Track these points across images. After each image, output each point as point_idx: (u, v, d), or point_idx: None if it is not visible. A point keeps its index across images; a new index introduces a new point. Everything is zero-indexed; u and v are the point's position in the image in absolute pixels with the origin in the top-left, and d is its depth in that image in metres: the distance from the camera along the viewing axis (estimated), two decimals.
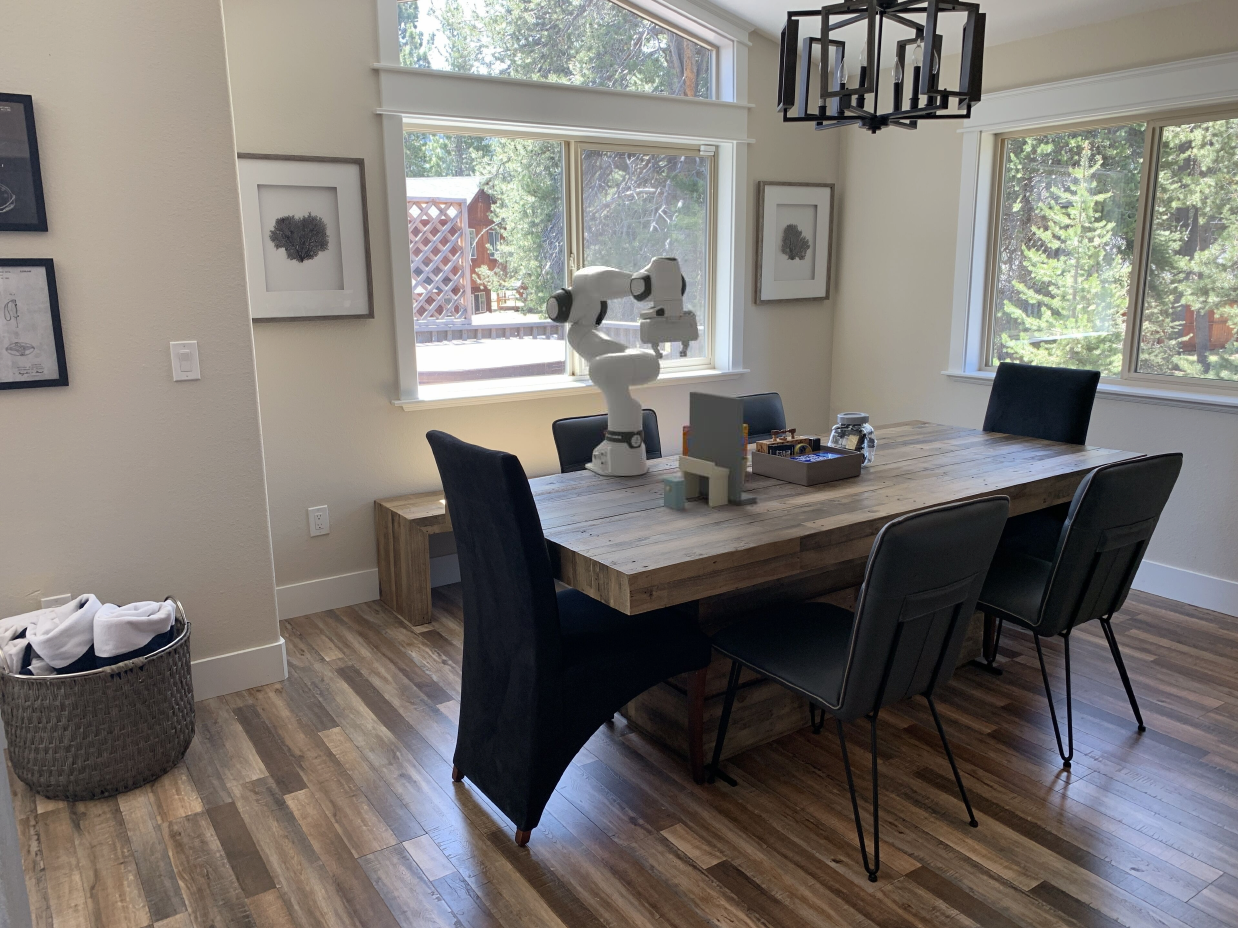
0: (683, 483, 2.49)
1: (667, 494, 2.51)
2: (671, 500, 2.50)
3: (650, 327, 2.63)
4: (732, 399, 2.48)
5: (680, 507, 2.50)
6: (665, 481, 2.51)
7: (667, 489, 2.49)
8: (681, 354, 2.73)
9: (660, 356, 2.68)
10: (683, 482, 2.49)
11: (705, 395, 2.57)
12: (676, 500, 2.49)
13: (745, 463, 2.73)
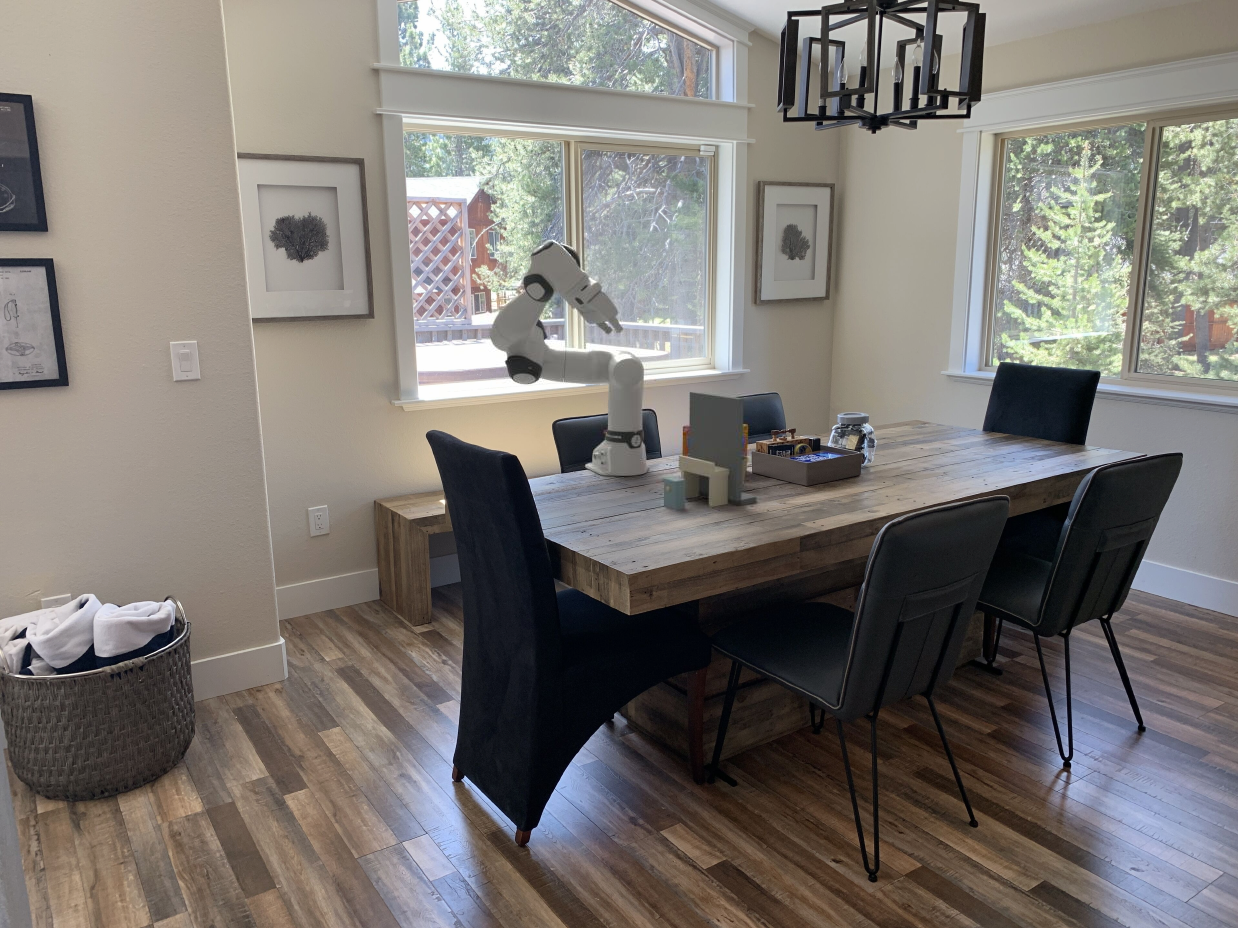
0: (683, 483, 2.49)
1: (667, 494, 2.51)
2: (671, 500, 2.50)
3: None
4: (732, 399, 2.48)
5: (680, 507, 2.50)
6: (665, 481, 2.51)
7: (667, 489, 2.49)
8: (608, 330, 2.47)
9: None
10: (683, 482, 2.49)
11: (705, 395, 2.57)
12: (676, 500, 2.49)
13: (745, 463, 2.73)
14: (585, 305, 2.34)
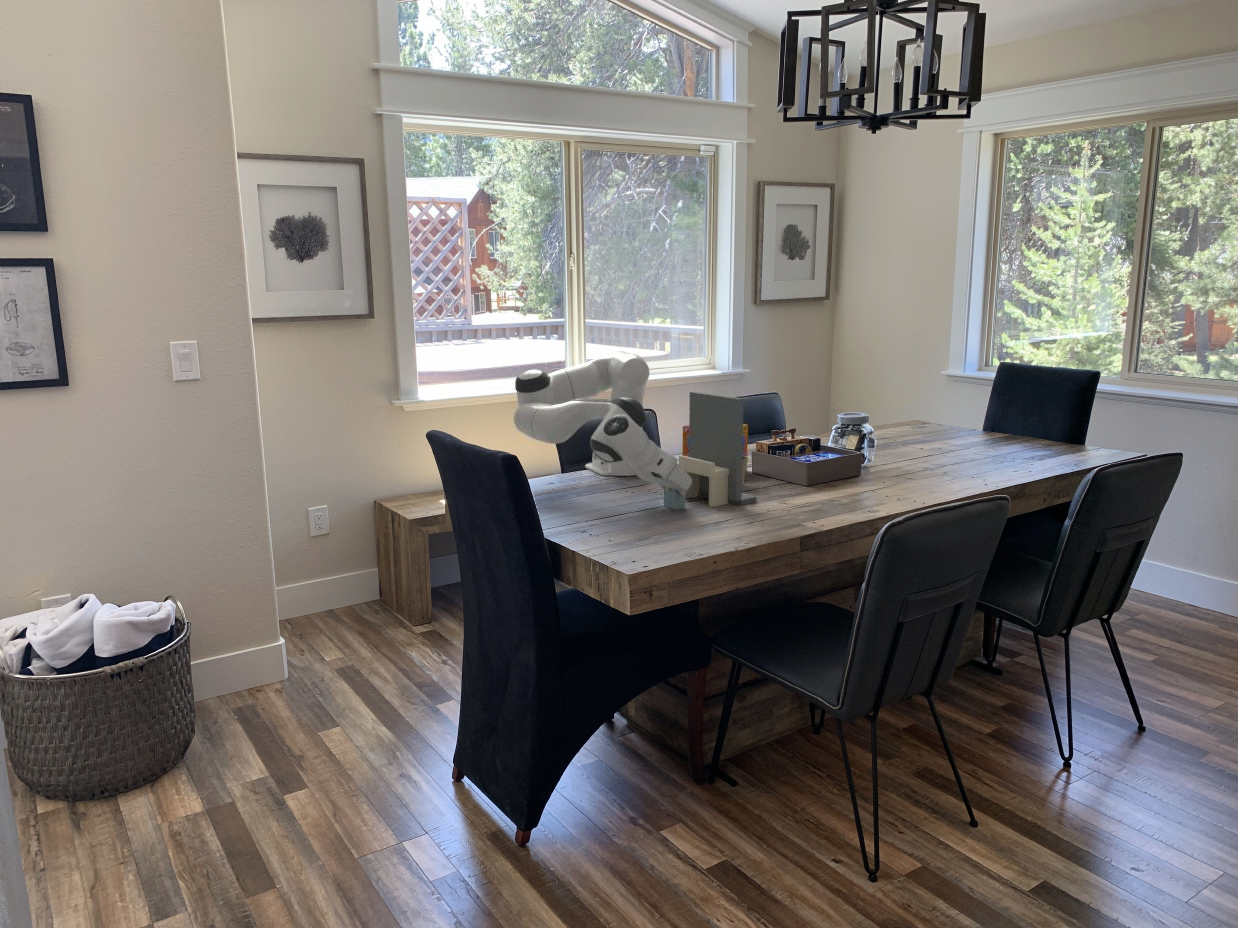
0: None
1: (667, 494, 2.51)
2: (671, 500, 2.50)
3: None
4: (732, 399, 2.48)
5: (680, 507, 2.50)
6: None
7: (667, 489, 2.49)
8: None
9: None
10: None
11: (705, 395, 2.57)
12: (676, 499, 2.49)
13: (745, 463, 2.73)
14: (660, 477, 2.40)
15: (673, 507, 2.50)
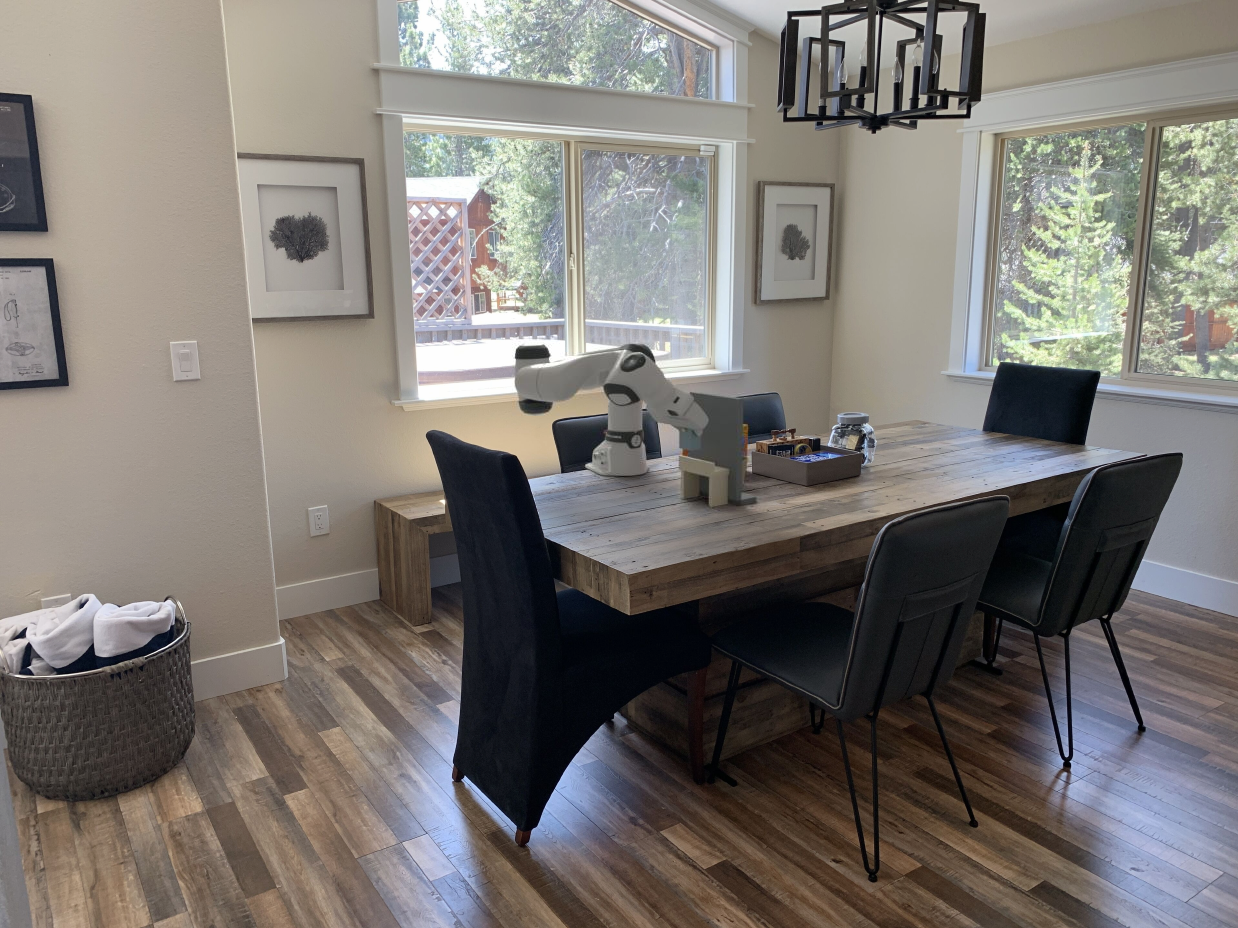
0: None
1: (683, 436, 2.50)
2: (687, 441, 2.49)
3: None
4: (732, 399, 2.48)
5: (696, 448, 2.49)
6: None
7: (683, 430, 2.49)
8: None
9: None
10: None
11: (705, 395, 2.57)
12: (692, 440, 2.48)
13: (745, 463, 2.73)
14: (677, 416, 2.39)
15: (689, 448, 2.49)
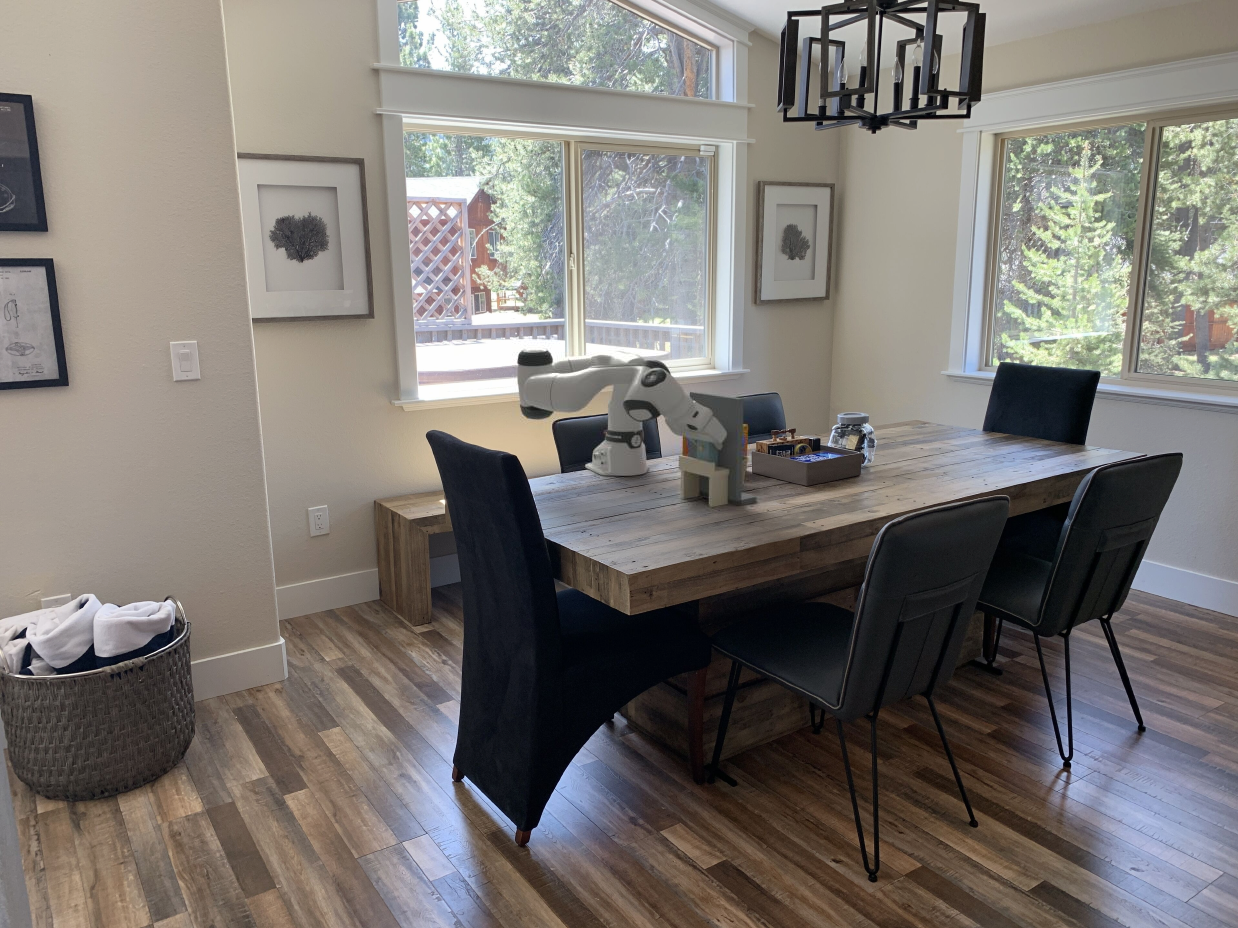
0: None
1: (700, 454, 2.56)
2: (705, 459, 2.55)
3: None
4: (732, 399, 2.48)
5: None
6: (698, 440, 2.56)
7: (700, 448, 2.55)
8: None
9: None
10: None
11: (705, 395, 2.57)
12: (709, 458, 2.54)
13: (745, 463, 2.73)
14: (696, 430, 2.45)
15: None
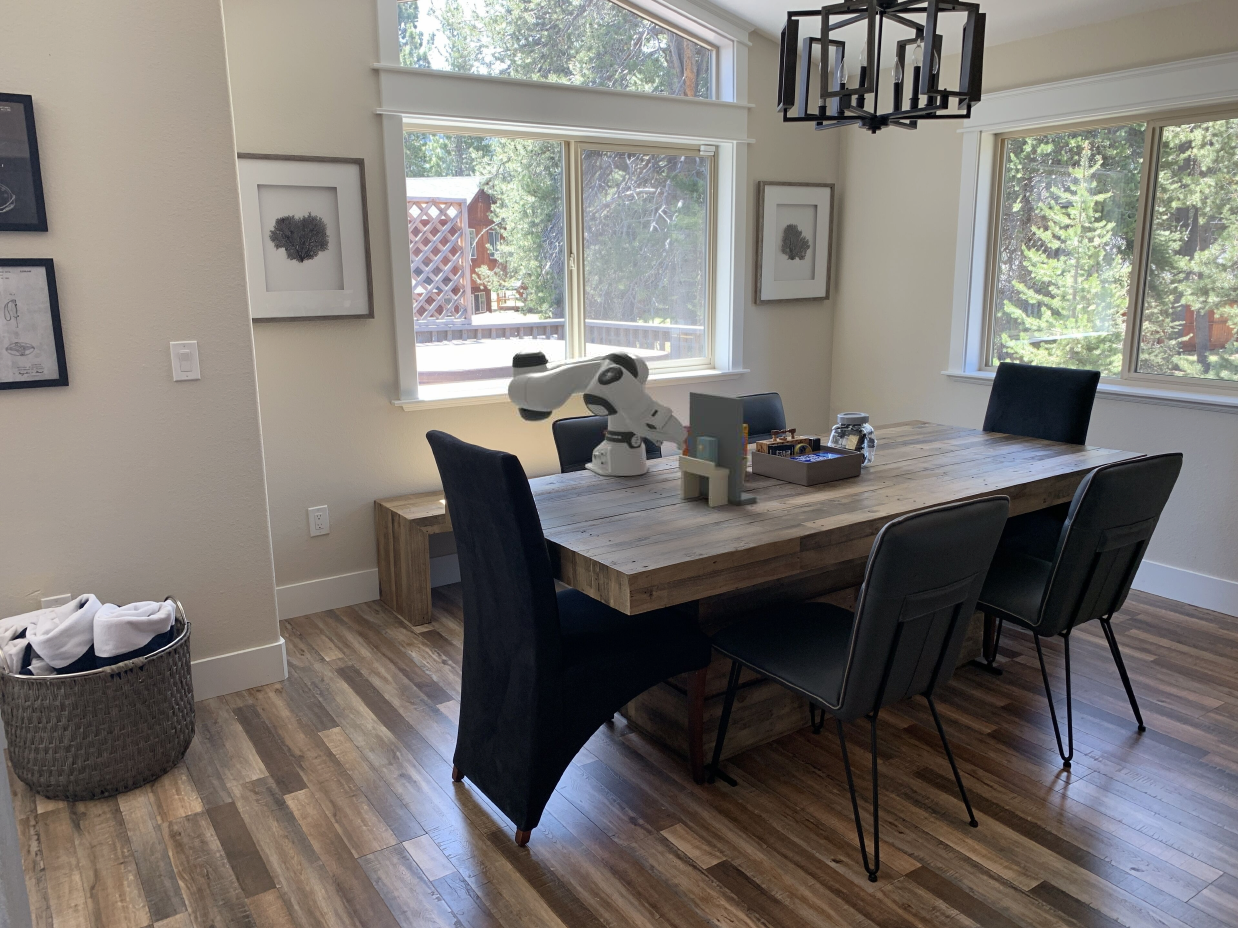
0: (716, 442, 2.55)
1: (700, 454, 2.56)
2: (705, 459, 2.55)
3: None
4: (732, 399, 2.48)
5: None
6: (698, 440, 2.56)
7: (700, 448, 2.55)
8: (660, 442, 2.51)
9: None
10: (716, 441, 2.54)
11: (705, 395, 2.57)
12: (709, 458, 2.54)
13: (745, 463, 2.73)
14: (655, 429, 2.37)
15: None
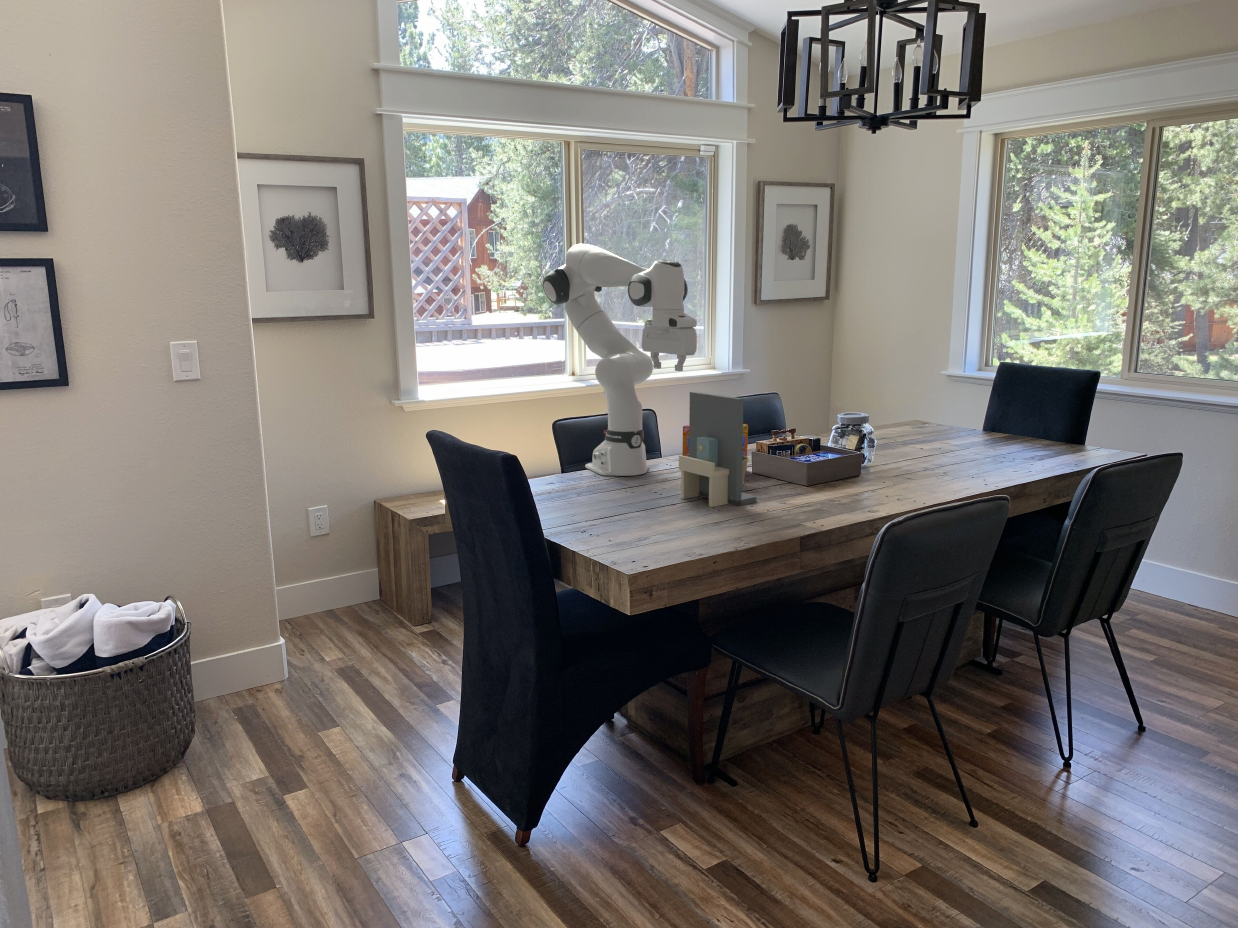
0: (716, 442, 2.55)
1: (700, 454, 2.56)
2: (705, 459, 2.55)
3: None
4: (732, 399, 2.48)
5: None
6: (698, 440, 2.56)
7: (700, 448, 2.55)
8: (658, 365, 2.57)
9: None
10: (716, 441, 2.54)
11: (705, 395, 2.57)
12: (709, 458, 2.54)
13: (745, 463, 2.73)
14: (673, 329, 2.46)
15: None
